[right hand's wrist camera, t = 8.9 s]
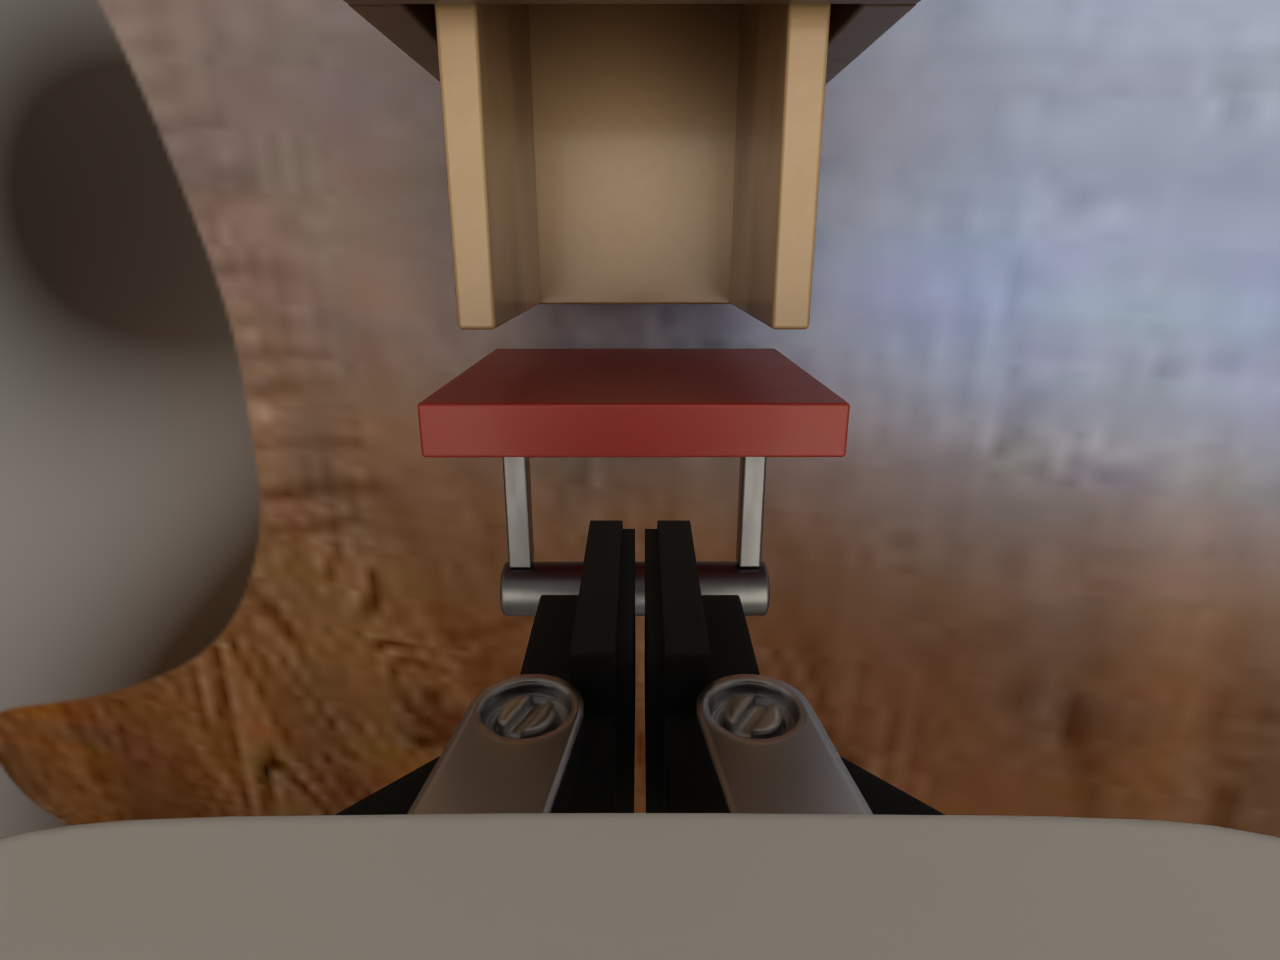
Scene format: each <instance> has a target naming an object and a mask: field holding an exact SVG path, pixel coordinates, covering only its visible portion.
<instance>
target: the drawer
mask: <svg viewBox="0 0 1280 960" xmlns="http://www.w3.org/2000/svg"><path fill="white" fill-rule="evenodd" d="M434 5H435V19H436V32H437V46H438V59H439V73H440V87H441V100H442V114H443V127H444V141H445V155H446V168H447V182H448V195H449V209H450V223H451V236H452V250H453V263H454V277H455V291H456V304H457V318H458V326H459V328H461V329H494V328H496V327H498V326H499V325H501V324H503V323H505V322H507V321H509V320H510V319H512V318H514V317H516V316H518V315H519V314H521V313H523V312H525V311H527V310H529V309H530V308H532V307H534V306H536V305H538V304H733V305H734V306H736V307H738V308H739V309H741V310H743V311H744V312H746V313H748V314H749V315H751V316H753V317H755V318H756V319H758V320H760V321H761V322H763V323H765V324H766V325H768V326H770V327H771V328H773V329H807V328H808V327H809V320H810V305H811V291H812V276H813V261H814V246H815V231H816V216H817V201H818V186H819V172H820V157H821V142H822V127H823V112H824V97H825V82H826V67H827V53H828V38H829V23H830V8H831V4H434ZM849 409H850V405H849V403H847V402H846V401H845V400H843V399H842V398H841V397H839V396H838V395H837V394H835V393H834V392H833V391H831V390H830V389H828V388H827V387H826V386H824V385H823V384H822V383H820V382H819V381H818V380H816V379H815V378H813V377H812V376H811V375H809V374H808V373H807V372H805V371H804V370H803V369H801V368H800V367H799V366H797V365H796V364H794V363H793V362H792V361H790V360H789V359H788V358H786V357H785V356H784V355H782V354H781V353H780V352H778V351H777V350H775V349H496V350H494V351H493V352H492V353H490V354H489V355H487V356H486V357H484V358H483V359H482V360H480V361H479V362H477V363H476V364H475V365H473V366H472V367H470V368H469V369H467V370H466V371H465V372H463V373H462V374H460V375H459V376H457V377H456V378H455V379H453V380H452V381H450V382H449V383H448V384H446V385H445V386H443V387H442V388H440V389H439V390H438V391H436V392H435V393H433V394H432V395H430V396H429V397H428V398H426V399H425V400H423V401H422V402H421V403H419V404H418V416H419V426H420V437H421V448H422V455H423V457H503V472H504V489H505V506H506V523H507V540H508V557H509V562H507V563H505V565H504V567H503V570H502V575H501V585H500V600H501V608H502V611H503V614H504V615H506V616H535V615H536V611H537V607H538V603H539V600H540V597H541V595H579V589H580V583H581V576H582V570H583V564H584V562H533V560H534V547H533V526H532V505H531V484H530V463H529V457H740V477H739V501H738V525H737V549H736V559H737V562H696V564H697V570H698V576H699V583H700V589H701V595H739V597H740V600H741V603H742V607H743V611H744V615H745V616H764V615H766V614H767V611H768V607H769V596H770V588H769V575H768V570H767V567H766V564H765V563H764V562H761V551H762V532H763V513H764V495H765V476H766V457H843V456H845V454H846V443H847V432H848V420H849ZM635 616H645V562H635Z"/></svg>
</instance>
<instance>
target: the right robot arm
mask: <svg viewBox="0 0 1280 960" xmlns="http://www.w3.org/2000/svg"><path fill="white" fill-rule="evenodd" d="M634 758H635V529H623V524H622V521H590V526H589V532H588V538H587V545H586V551H585V557H584V564H583V570H582V576H581V583H580V589H579V595H541V597H540V600H539V603H538V607H537V611H536V615H535V619H534V623H533V627H532V631H531V635H530V639H529V643H528V647H527V651H526V655H525V658H524V662H523V666H522V670H521V674H520V675H518V676H513V677H508V678H505V679H503V680H500V681H498V682H495V683H493V684H491V685H490V686H488V687H487V688H485V689H484V690H482V691H481V692H480V693H479V694H478V695H477V696H476V697H475V699H474V700H473V701H472V702H471V704H470V705H469V707H468V709H467V711H466V712H465V714H464V716H463V718H462V719H461V721H460V723H459V725H458V726H457V728H456V730H455V731H454V733H453V735H452V737H451V738H450V740H449V742H448V744H447V745H446V747H445V749H444V751H443V752H442V754H441V756H439V757H438V758H436V759H434V760H432V761H431V762H429V763H427V764H425V765H423V766H422V767H420V768H418V769H416V770H414V771H413V772H411V773H409V774H407V775H406V776H404V777H402V778H400V779H398V780H397V781H395V782H393V783H391V784H389V785H388V786H386V787H384V788H382V789H381V790H379V791H377V792H375V793H373V794H372V795H370V796H368V797H366V798H364V799H363V800H361V801H359V802H357V803H356V804H354V805H352V806H350V807H348V808H347V809H345V810H343V811H341V812H339V813H338V814H336V815H324V816H230V817H201V818H174V819H146V820H120V821H110V822H100V823H90V824H80V825H70V826H62V827H57V828H51V829H45V830H40V831H34V832H28V833H23V834H17V835H12V836H6V837H2V838H0V960H1280V838H1278V837H1274V836H1268V835H1263V834H1257V833H1252V832H1246V831H1240V830H1235V829H1229V828H1223V827H1218V826H1210V825H1200V824H1190V823H1180V822H1170V821H1160V820H1134V819H1106V818H1079V817H1051V816H972V815H944V814H942V813H941V812H939V811H937V810H935V809H933V808H932V807H930V806H928V805H926V804H924V803H923V802H921V801H919V800H917V799H916V798H914V797H912V796H910V795H908V794H907V793H905V792H903V791H901V790H899V789H898V788H896V787H894V786H892V785H891V784H889V783H887V782H885V781H883V780H882V779H880V778H878V777H876V776H874V775H873V774H871V773H869V772H867V771H866V770H864V769H862V768H860V767H858V766H857V765H855V764H853V763H851V762H849V761H848V760H846V759H844V758H842V757H841V756H839V754H838V752H837V751H836V749H835V747H834V745H833V744H832V742H831V740H830V738H829V737H828V735H827V733H826V731H825V730H824V728H823V726H822V725H821V723H820V721H819V719H818V718H817V716H816V714H815V712H814V711H813V709H812V707H811V705H810V704H809V702H808V701H807V700H806V699H805V697H804V696H803V695H802V694H801V693H800V692H799V691H798V690H796V689H795V688H793V687H792V686H790V685H789V684H787V683H785V682H782V681H780V680H777V679H775V678H772V677H767V676H762V675H760V674H759V670H758V666H757V662H756V658H755V655H754V651H753V647H752V643H751V639H750V635H749V631H748V627H747V623H746V619H745V615H744V611H743V607H742V603H741V600H740V597H739V595H701V589H700V583H699V576H698V570H697V564H696V557H695V551H694V545H693V538H692V532H691V526H690V521H658V524H657V529H645V758H646V813H634Z"/></svg>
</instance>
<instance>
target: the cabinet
mask: <svg viewBox="0 0 1280 960" xmlns="http://www.w3.org/2000/svg"><path fill="white" fill-rule="evenodd" d="M344 1H345V2H347V3H348V4H349V6H350V7H352V8H353V9H354V10H355V11H356V12H358V13H359V14H360V15H361V16H362V17H363V18H365V19H366V20H367V21H368V22H369V23H371V24H372V25H373V26H374V27H375V28H377V29H378V30H379V31H380V32H381V33H383V34H384V35H385V36H386V37H387V38H388V39H390V40H391V41H392V42H393V43H394V44H396V45H397V46H398V47H399V48H400V49H402V50H403V51H404V52H405V53H406V54H407V55H409V56H410V57H411V58H412V59H413V60H415V61H416V62H417V63H418V64H419V65H421V66H422V67H423V68H424V69H425V70H427V71H428V72H429V73H430V74H431V75H432V76H434V77H435V78H436V79H437V80H438V81H440V73H439V59H438V46H437V32H436V19H435V5H434V4H831V8H830V23H829V38H828V53H827V67H826V82H825V85H826V84H827V83H828V82H829V81H830V80H831V79H832V78H834V77H835V76H836V75H837V74H838V73H839V72H840V71H842V70H843V69H844V68H845V67H846V66H847V65H848V64H849V63H851V62H852V61H853V60H854V59H855V58H856V57H857V56H859V55H860V54H861V53H862V52H863V51H864V50H865V49H867V48H868V47H869V46H870V45H871V44H872V43H873V42H874V41H876V40H877V39H878V38H879V37H880V36H881V35H882V34H884V33H885V32H886V31H887V30H888V29H889V28H890V27H892V26H893V25H894V24H895V23H896V22H897V21H898V20H899V19H901V18H902V17H903V16H904V15H905V14H906V13H907V12H909V11H910V10H911V9H912V8H913V7H914V6H915V5H916V4H917V3H918V2H919V1H921V0H344Z"/></svg>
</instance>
